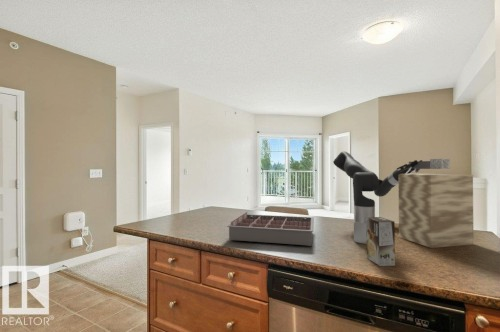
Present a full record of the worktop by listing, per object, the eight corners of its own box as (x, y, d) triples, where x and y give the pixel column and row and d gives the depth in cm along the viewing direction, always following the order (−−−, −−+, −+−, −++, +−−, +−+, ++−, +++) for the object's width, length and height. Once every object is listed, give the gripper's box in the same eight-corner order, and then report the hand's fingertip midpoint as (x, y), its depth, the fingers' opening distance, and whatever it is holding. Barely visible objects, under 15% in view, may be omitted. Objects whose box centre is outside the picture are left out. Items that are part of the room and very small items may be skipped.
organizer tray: (313, 249, 110) (313, 226, 110) (226, 243, 120) (226, 222, 120) (313, 231, 141) (313, 213, 141) (244, 227, 151) (244, 211, 151)
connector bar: (449, 168, 123) (449, 158, 123) (441, 168, 122) (441, 158, 122) (414, 168, 142) (414, 159, 142) (407, 168, 141) (407, 159, 141)
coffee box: (396, 265, 91) (395, 221, 91) (379, 266, 90) (379, 221, 91) (380, 257, 100) (380, 216, 100) (365, 257, 100) (365, 216, 100)
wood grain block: (473, 244, 117) (472, 174, 117) (431, 247, 111) (430, 174, 112) (436, 234, 134) (436, 173, 135) (398, 237, 129) (398, 173, 129)
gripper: (385, 171, 151) (406, 155, 137) (405, 171, 154) (427, 155, 140) (390, 182, 147) (412, 167, 133) (410, 182, 150) (433, 167, 136)
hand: (419, 161), depth 136 cm, fingers closed on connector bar, 3 cm apart
